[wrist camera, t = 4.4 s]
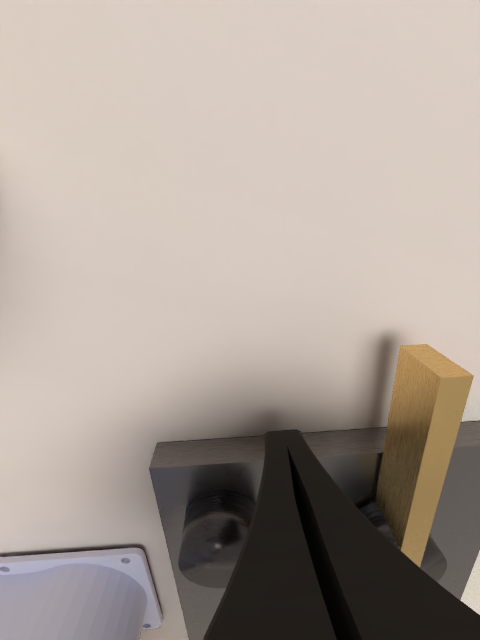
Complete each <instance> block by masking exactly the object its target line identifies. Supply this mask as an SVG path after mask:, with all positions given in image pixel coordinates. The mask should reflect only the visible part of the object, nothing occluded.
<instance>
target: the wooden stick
mask: <svg viewBox="0 0 480 640" xmlns="http://www.w3.org/2000/svg"><path fill="white" fill-rule="evenodd" d="M472 380H473V375H472V374H470V373H469V372H467V371H466V370H464V369H463V368H461V367H460V366H458V365H457V364H455V363H454V362H452V361H451V360H449V359H448V358H447V357H445V356H444V355H442V354H441V353H439V352H438V351H436V350H435V349H433V348H432V347H430V346H429V345H427V344H422V345H407V346H400V352H399V358H398V364H397V370H396V376H395V382H394V388H393V394H392V400H391V407H390V413H389V419H388V425H387V431H386V437H385V443H384V449H383V455H382V461H381V467H380V473H379V480H378V486H377V492H376V498H375V502H373V503H370V504H368V505H366V506H364V507H362V508H361V509H359V510H360V511H361V512H362V513H363V514H364V515H365V517H366V518H367V519H368V520H369V521H370V522H371V523H372V524H373V525H374V526H375V527H376V528H377V529H378V530H379V531H380V532H381V533H382V534H383V535H384V536H385V537H386V538H387V539H389V540H390V541H391V542H392V543H393V544H394V545H395V546H396V547H397V548H399V549H400V550H401V551H402V552H403V553H404V554H405V555H406V556H407V557H408V558H410V559H411V560H412V561H413V562H414V563H415V564H416V565H417V566H419V567H420V568H421V569H422V570H423V571H424V572H426V573H427V574H428V575H429V576H430V577H432V578H433V579H434V580H435V581H436V582H437V581H439V580H440V579H441V577H442V576H443V575H444V573H445V571H446V568H447V561H446V558H445V557H444V555H443V553H442V552H441V550H440V549H439V547H438V545H437V544H436V542H435V540H434V539H433V537H432V536H431V534H430V530H431V526H432V523H433V519H434V515H435V512H436V508H437V505H438V501H439V498H440V494H441V490H442V487H443V483H444V480H445V476H446V473H447V469H448V465H449V462H450V458H451V455H452V451H453V448H454V444H455V441H456V437H457V433H458V430H459V426H460V423H461V419H462V416H463V412H464V408H465V405H466V401H467V398H468V394H469V391H470V387H471V383H472Z"/></svg>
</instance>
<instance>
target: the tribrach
mask: <svg viewBox="0 0 480 640" xmlns="http://www.w3.org/2000/svg"><path fill="white" fill-rule="evenodd" d="M386 431H387V427H386V428H371V429H356V430H342V431H327V432H312V433H301V435H302V436H303V438H304V440H305V441H306V443H307V444H308V446H309V447H310V449H311V450H312V452H313V453H314V455H315V456H316V458H317V459H318V460H319V462H320V463H321V464H322V466H323V467H324V468H325V470H326V471H327V472H328V474H329V475H330V476H331V478H332V479H333V480H334V481H335V483H336V484H337V485H338V486H339V487H340V489H341V490H342V491H343V492H344V493H345V495H346V496H347V497H348V498H349V499H350V500H351V501H352V503H353V504H354V505H355V506H356V507H357V508H358V509H361V508H362V507H364V506H366V505H368V504H370V503H373V502H375V498H376V492H377V486H378V480H379V473H380V467H381V461H382V455H383V449H384V443H385V437H386ZM264 458H265V439H264V436H254V437H239V438H224V439H210V440H195V441H180V442H166V443H157V445H156V449H155V452H154V455H153V458H152V461H151V464H150V467H149V470H150V474H151V479H152V483H153V487H154V491H155V496H156V500H157V504H158V509H159V513H160V517H161V521H162V526H163V530H164V534H165V539H166V543H167V547H168V551H169V556H170V560H171V564H172V569H173V573H174V577H175V581H176V586H177V590H178V594H179V599H180V603H181V607H182V611H183V616H184V620H185V624H186V629H187V633H188V637H189V640H203V638H204V635H205V633H206V631H207V629H208V627H209V625H210V623H211V620H212V618H213V616H214V614H215V612H216V610H217V608H218V605H219V603H220V601H221V599H222V597H223V594H224V592H225V590H226V587H227V585H228V582H229V580H230V577H231V575H232V573H233V570H234V568H235V565H236V563H237V560H238V558H239V555H240V552H241V549H242V546H243V543H244V541H245V538H246V535H247V532H248V529H249V525H250V522H251V519H252V515H253V512H254V508H255V505H256V501H257V496H258V492H259V487H260V483H261V478H262V472H263V465H264ZM430 534H431V536H432V537H433V539H434V540H435V542H436V544H437V545H438V547H439V549H440V550H441V552H442V553H443V555H444V557H445V558H446V561H447V568H446V571H445V573H444V575H443V576H442V577H441V579H440V580H439V581H437V582H438V583H439V584H440V585H441V586H442V587H444V588H445V589H446V590H448V591H449V592H450V593H451V594H453V595H454V596H455V597H456V598H458V599H459V600H460V599H461V597H462V594H463V592H464V589H465V586H466V584H467V581H468V579H469V576H470V574H471V571H472V568H473V566H474V563H475V561H476V558H477V556H478V553H479V550H480V421H474V422H461V423H460V426H459V430H458V433H457V437H456V441H455V444H454V448H453V451H452V455H451V458H450V462H449V465H448V469H447V473H446V476H445V480H444V483H443V487H442V490H441V494H440V498H439V501H438V505H437V508H436V512H435V515H434V519H433V523H432V526H431V530H430Z"/></svg>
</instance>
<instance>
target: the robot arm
mask: <svg viewBox="0 0 480 640" xmlns="http://www.w3.org/2000/svg"><path fill="white" fill-rule="evenodd" d="M264 439H265V458H264V465H263V472H262V478H261V483H260V487H259V492H258V496H257V501H256V505H255V508H254V512H253V515H252V519H251V522H250V525H249V529H248V532H247V535H246V538H245V541H244V543H243V546H242V549H241V552H240V555H239V558H238V560H237V563H236V565H235V568H234V570H233V573H232V575H231V577H230V580H229V582H228V585H227V587H226V590H225V592H224V594H223V597H222V599H221V601H220V603H219V605H218V608H217V610H216V612H215V614H214V616H213V618H212V620H211V623H210V625H209V627H208V629H207V631H206V633H205V635H204V638H203V640H480V615H479V614H477V613H476V612H475V611H473V610H472V609H471V608H469V607H468V606H467V605H466V604H464V603H463V602H462V601H460V600H459V599H458V598H456V597H455V596H454V595H453V594H451V593H450V592H449V591H448V590H446V589H445V588H444V587H442V586H441V585H440V584H439V583H438V582H436V581H435V580H434V579H433V578H432V577H430V576H429V575H428V574H427V573H426V572H424V571H423V570H422V569H421V568H420V567H419V566H417V565H416V564H415V563H414V562H413V561H412V560H411V559H410V558H408V557H407V556H406V555H405V554H404V553H403V552H402V551H401V550H400V549H399V548H397V547H396V546H395V545H394V544H393V543H392V542H391V541H390V540H389V539H387V538H386V537H385V536H384V535H383V534H382V533H381V532H380V531H379V530H378V529H377V528H376V527H375V526H374V525H373V524H372V523H371V522H370V521H369V520H368V519H367V518H366V517H365V515H364V514H363V513H362V512H361V511H360V510H359V509H358V508H357V507H356V506H355V505H354V504H353V503H352V501H351V500H350V499H349V498H348V497H347V496H346V495H345V493H344V492H343V491H342V490H341V489H340V487H339V486H338V485H337V484H336V483H335V481H334V480H333V479H332V478H331V476H330V475H329V474H328V472H327V471H326V470H325V468H324V467H323V466H322V464H321V463H320V462H319V460H318V459H317V458H316V456H315V455H314V453H313V452H312V450H311V449H310V447H309V446H308V444H307V443H306V441H305V440H304V438H303V436H302V435H301V433H300V431H298V430H284V431H269V432H266V433H265V434H264ZM162 620H163V617H162V613H161V610H160V606H159V602H158V599H157V595H156V592H155V588H154V585H153V581H152V578H151V574H150V571H149V567H148V563H147V560H146V556H145V553H144V551H143V550H142V549H140V548H122V549H108V550H94V551H80V552H66V553H52V554H38V555H24V556H10V557H0V640H139V638H140V634H141V630H146V629H157V628H160V627H161V625H162Z"/></svg>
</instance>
